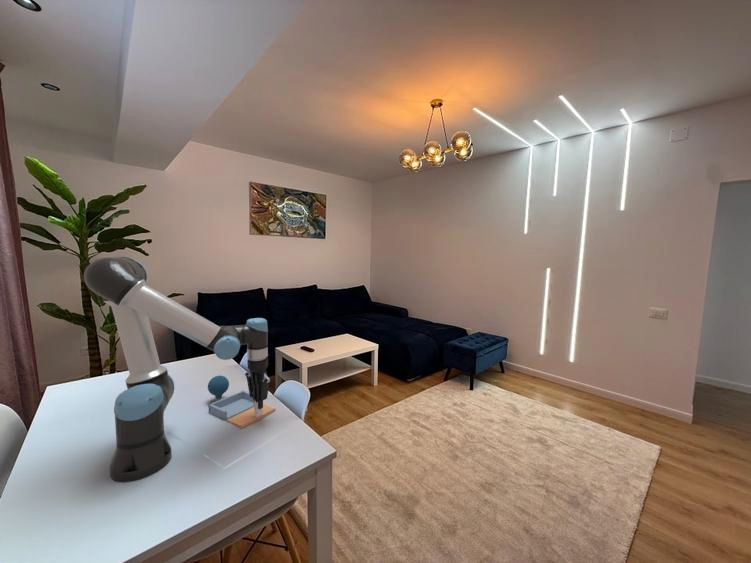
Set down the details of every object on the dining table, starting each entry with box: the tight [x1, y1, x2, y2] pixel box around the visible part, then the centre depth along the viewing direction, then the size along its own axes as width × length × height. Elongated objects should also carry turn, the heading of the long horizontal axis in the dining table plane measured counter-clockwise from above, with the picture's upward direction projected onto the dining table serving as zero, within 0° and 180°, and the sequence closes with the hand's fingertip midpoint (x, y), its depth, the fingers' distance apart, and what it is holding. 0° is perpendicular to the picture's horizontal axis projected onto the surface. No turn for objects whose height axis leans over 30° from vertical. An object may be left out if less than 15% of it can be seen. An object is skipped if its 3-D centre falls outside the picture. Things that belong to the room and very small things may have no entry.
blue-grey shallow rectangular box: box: [208, 390, 254, 422], centre depth 128 cm, size 16×11×4 cm
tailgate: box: [225, 403, 276, 429], centre depth 122 cm, size 16×1×10 cm
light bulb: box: [207, 375, 230, 401], centre depth 134 cm, size 8×8×12 cm
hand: (258, 415), depth 120 cm, fingers closed
